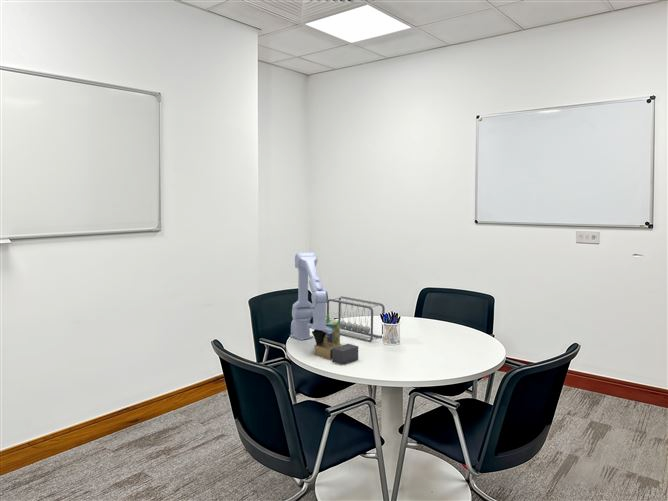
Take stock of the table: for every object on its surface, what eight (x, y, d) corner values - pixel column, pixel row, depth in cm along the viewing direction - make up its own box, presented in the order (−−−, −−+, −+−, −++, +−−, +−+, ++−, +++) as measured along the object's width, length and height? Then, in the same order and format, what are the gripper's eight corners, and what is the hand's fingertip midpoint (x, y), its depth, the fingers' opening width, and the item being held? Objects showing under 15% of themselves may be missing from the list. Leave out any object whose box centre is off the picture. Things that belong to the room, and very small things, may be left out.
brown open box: (314, 354, 229) (314, 345, 228) (327, 351, 234) (327, 341, 234) (330, 360, 222) (330, 350, 221) (343, 356, 227) (343, 346, 227)
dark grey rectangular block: (319, 357, 225) (319, 344, 224) (335, 352, 232) (335, 339, 231) (342, 365, 215) (342, 351, 215) (358, 359, 222) (358, 346, 222)
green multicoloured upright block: (336, 349, 238) (337, 317, 236) (317, 347, 240) (317, 316, 238) (340, 343, 247) (340, 313, 245) (321, 342, 249) (322, 312, 247)
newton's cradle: (326, 331, 268) (326, 298, 266) (339, 328, 276) (339, 295, 274) (371, 343, 248) (372, 307, 246) (384, 338, 256) (385, 303, 254)
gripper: (302, 315, 233) (302, 344, 234) (324, 321, 223) (324, 351, 224) (313, 313, 238) (313, 341, 239) (335, 318, 228) (335, 348, 229)
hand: (319, 346), depth 232 cm, fingers closed
